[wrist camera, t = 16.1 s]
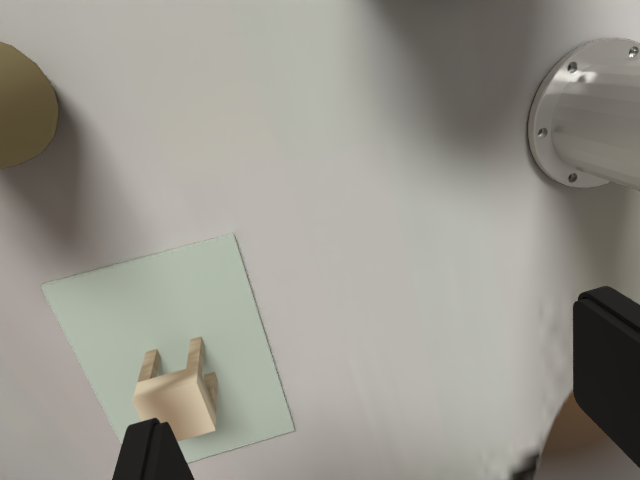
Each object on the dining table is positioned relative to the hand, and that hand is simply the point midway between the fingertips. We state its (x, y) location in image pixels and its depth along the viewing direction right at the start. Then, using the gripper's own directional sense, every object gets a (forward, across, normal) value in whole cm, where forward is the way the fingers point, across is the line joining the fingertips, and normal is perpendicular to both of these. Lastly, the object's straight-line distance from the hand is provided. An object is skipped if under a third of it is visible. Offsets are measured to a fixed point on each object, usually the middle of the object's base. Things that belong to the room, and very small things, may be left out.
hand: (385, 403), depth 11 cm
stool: (+30, +13, +17) cm, 37 cm away
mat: (+30, +13, +17) cm, 37 cm away
